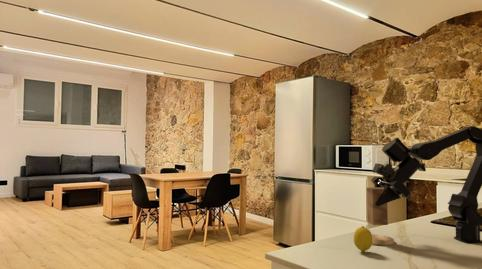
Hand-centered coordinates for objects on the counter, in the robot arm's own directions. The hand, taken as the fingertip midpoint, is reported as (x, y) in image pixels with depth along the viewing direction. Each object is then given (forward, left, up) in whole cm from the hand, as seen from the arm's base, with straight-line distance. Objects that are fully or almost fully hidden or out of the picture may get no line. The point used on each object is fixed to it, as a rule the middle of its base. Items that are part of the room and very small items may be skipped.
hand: (373, 204), depth 121 cm
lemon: (+9, +11, -13) cm, 19 cm away
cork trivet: (-1, -1, -13) cm, 13 cm away
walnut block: (-1, 0, -7) cm, 7 cm away
